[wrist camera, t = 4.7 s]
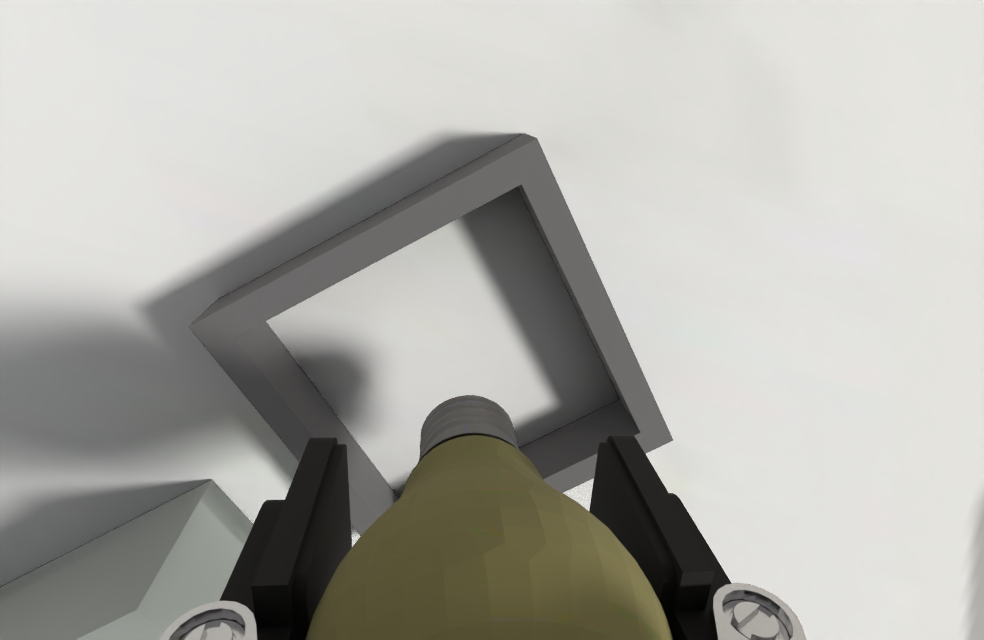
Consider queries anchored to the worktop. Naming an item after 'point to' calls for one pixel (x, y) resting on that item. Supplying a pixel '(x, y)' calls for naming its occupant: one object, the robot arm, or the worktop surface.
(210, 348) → the bulb holder
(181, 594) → the bin
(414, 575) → the light bulb
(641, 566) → the robot arm
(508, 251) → the worktop surface
